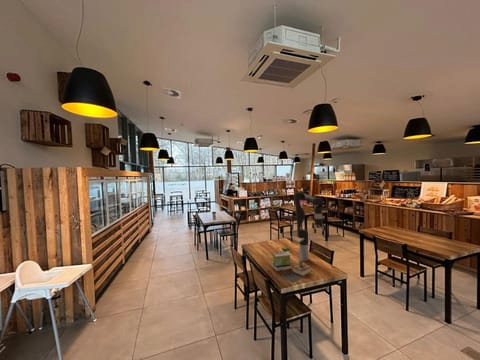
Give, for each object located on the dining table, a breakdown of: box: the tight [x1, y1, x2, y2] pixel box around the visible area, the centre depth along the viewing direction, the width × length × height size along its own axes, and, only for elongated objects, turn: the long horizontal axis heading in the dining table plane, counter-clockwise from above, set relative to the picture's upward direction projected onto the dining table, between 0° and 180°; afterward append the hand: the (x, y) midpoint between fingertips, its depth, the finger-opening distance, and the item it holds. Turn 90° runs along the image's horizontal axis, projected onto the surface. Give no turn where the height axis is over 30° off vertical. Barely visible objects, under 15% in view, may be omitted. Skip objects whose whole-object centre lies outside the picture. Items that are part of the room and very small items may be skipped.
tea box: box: [272, 251, 291, 272], centre depth 205 cm, size 15×10×15 cm
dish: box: [292, 267, 311, 277], centre depth 194 cm, size 11×11×5 cm
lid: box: [291, 259, 312, 271], centre depth 194 cm, size 12×12×7 cm
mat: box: [280, 271, 304, 284], centre depth 185 cm, size 15×15×1 cm
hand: (319, 233), depth 201 cm, fingers open, 8 cm apart
